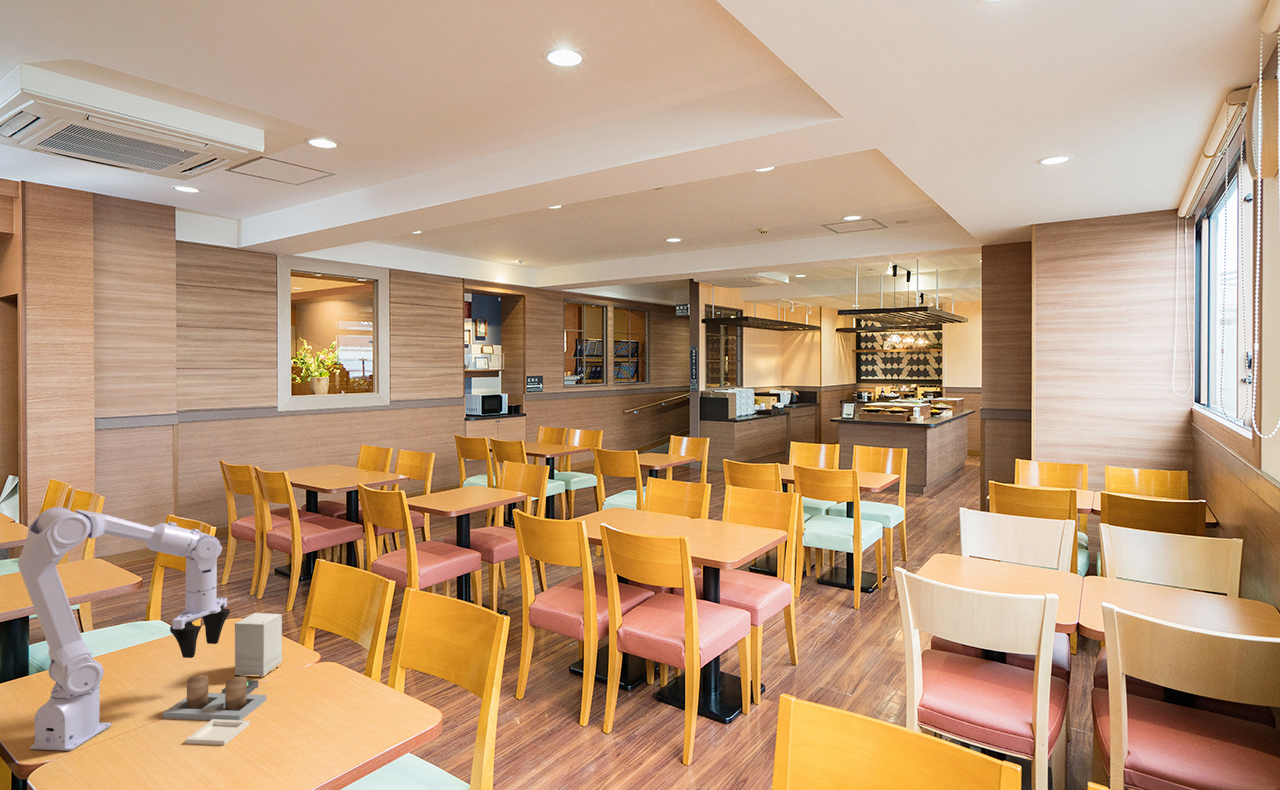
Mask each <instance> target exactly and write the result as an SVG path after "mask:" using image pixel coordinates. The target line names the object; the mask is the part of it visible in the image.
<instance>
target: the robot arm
mask: <svg viewBox="0 0 1280 790" xmlns="http://www.w3.org/2000/svg"><path fill="white" fill-rule="evenodd" d="M74 511H75V512H74ZM74 511H72V510H71V509H69V508H66V507H63V506H58V507H57V506H55V507H51V508H48V509H46V510H44V511H42V512H41V513H40V514H39V515H38V516H37V517H36V518H35V519H34V520H33V521H32V522H31V524H30V525H29V526H28V529H27V530H28V531H27V537H26V538H25V542H24V544H23V548H22V549H21V552H20V555H19V558H18V560H17V566H18V569H19V572H20V575H21V578H22V579H23V582H24V585H25V587H26V590H27V593H28V595H29V598H30V601H31V604H32V606H33V609H34V612H35V614H36V616H37V620H38V622H39V625H40V628H41V629H42V632H43V633H42V634H43V635H44V638H45V640H46V643H47V646H48V653H47V654H48V656H49V660H50V661H49V662H50V663H49V666H48V676H49V677H50V679H51V680H53V681H55V684H54V685H53V687H52V689H51V690H50V691H51V692H50V694H51V695H50V697H49V698H48V700H47V701H46V702H45V703H44V704H43V705H42V706H40V707H39V708H38V709H37V711H36V713H35V715H34V744H32V745H31V746H30V749H31V750H47V751H68V752H69V751H72V750H74V749H77V748H78V747H79V746H80V745H82V744H84V743H86V742H87V741H89V740H91V739H92V738H94V737H96V736H97V735H98V734H100V733H101V732H103V731H105V730H107V729H108V728H110V727H111V726H112V723H111V722H100V719H101V718H100V713H101V712H100V711H101V710H100V709H101V708H100V707H101V705H100V702H101V700H100V695H101V691H100V690H101V689H100V688H101V687H100V685H101V681H102V679H103V677H104V674H105V673H104V667H103V665H102V664H101V663H100V662H98V661H97V660H95V659H94V658H93V656H92V654H91V651H90V649H89V648H88V646H87V645H86V643H85V640H84V639H83V637H82V634H81V631H80V629H79V625H78V623H77V620H76V618H75V615H74V612H73V610H72V607H71V604H70V601H69V598H68V596H67V592H66V590H65V587H64V585H63V582H62V580H61V577H60V575H59V574H60V573H59V571H58V569H57V565H58V564H59V563H60V561H62V559H63V558H64V557H65V555H66V554H67V553H68V552H70V551H71V550H73V549H74V548H76V547H77V546H78V545H80V544H81V543H82V542H84V541H85V540H86V539H87V538H88V539H91V540H93V539H95V538H98V537H101V536H103V535H109V536H114V537H120V538H123V539H124V538H125V539H129V540H135V541H138V542H139V541H140V542H144V543H145V544H146V546H147V548H148V550H150V551H154V552H158V553H163V554H168V555H172V556H176V557H179V558H180V557H181V558H182V557H185V609H184V610H183V611H182V612H181V613H180V614H179V615H178V616H177V617H175V618H173V619H172V625H170V627H169V631H170V633H171V634H172V636H174V638H175V639H176V641H177V644H178V646H179V649H180V652H181V655H182V658H183V659H186V658H188V659H193V658H195V655H196V650H197V640H198V636H199V633H200V631H201V628H202V625H195V624H194V622H196V621H197V620H200V619H202V620H203V624H204V629H205V639H206V640H205V641H206V644H207V645H208V644H209V645H217V644H218V643H219V641H220V637H221V634H222V630H223V627H224V625H225V623H226V620H227V619H228V616H229V614H230V613H231V611H230V609H229V608H226V607H228V598H227V597H217V584H218V583H217V581H218V575H217V574H218V571H217V570H218V566H217V563H218V561H217V560H218V557H219V556H220V555H221V553H222V550H223V546H222V545H221V542H220V540H219V539H218V537H216V536H214V535H210V534H208V533H206V532H202V531H200V529H198V528H197V529H196V528H192V529H189V528H185V527H184V528H183V527H180V526H178V523H176V522H172V521H168V522H167V523H165V522H161V523H158V524H156V525H153V526H149V525H146V524H142V523H139V522H134V521H131V520H127V519H123V518H120V517H116V516H113V515H109V514H105V513H100V512H97V511H95V512H94V511H89V510H84V509H83V510H82V509H74Z"/></svg>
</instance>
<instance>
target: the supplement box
mask: <svg viewBox="0 0 1280 790" xmlns="http://www.w3.org/2000/svg"><path fill="white" fill-rule="evenodd" d="M282 616H283V615H282V614H281V613H260V612H254V613H252V614H250V615H248V616H246V617H243V618H242V619H240V620H239V621H238V620H237V622H235V623H234V676H235V675H259V676H263V675H265V674H266V673H268V672H269V671H270V670H272V669H273V668H275V667H276V666H277V665H278V664H280V663H281V662H282V663H283V617H282Z"/></svg>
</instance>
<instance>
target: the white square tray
mask: <svg viewBox="0 0 1280 790" xmlns="http://www.w3.org/2000/svg"><path fill="white" fill-rule="evenodd" d="M250 723H251V722H250V720H243V719H242V720H220V719H212V720H208V722H207V723H205V724H204V725H203V726H201V727H200V728H199V729H197V730H196V731H194V732H193V733H192V734H191V735H189V736H188V737H187V738H185V742H184V743H185V744H186V745H187V744H188V745H208V746H209V745H211V746H226V745H227V744H228V743H229V742H231V740H233V739H234V738H235V737H237V736H238V735H239V734H241V732H243V731H244V730H245V729H246V728H247V727H249V726H250Z"/></svg>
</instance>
